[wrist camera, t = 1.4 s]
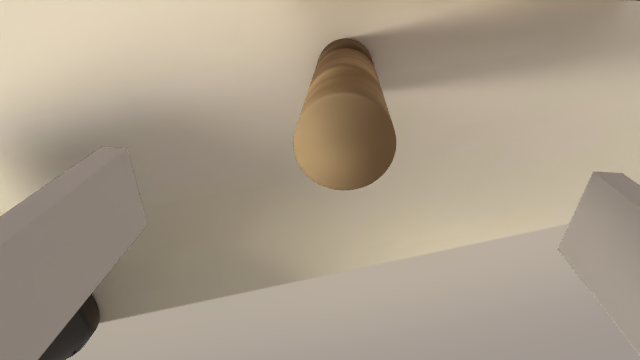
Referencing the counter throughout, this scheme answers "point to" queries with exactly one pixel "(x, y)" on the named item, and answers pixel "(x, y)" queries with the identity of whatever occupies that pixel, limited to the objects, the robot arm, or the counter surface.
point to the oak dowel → (344, 121)
